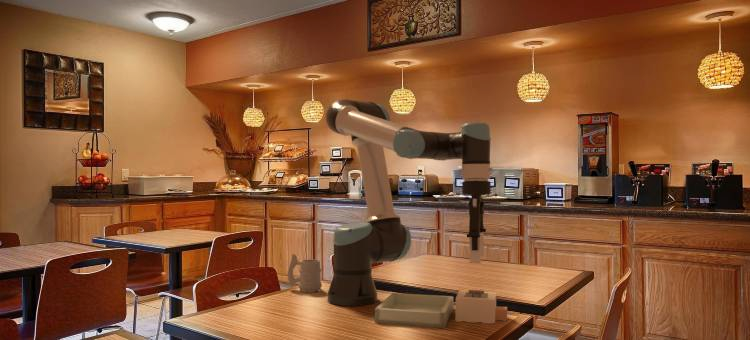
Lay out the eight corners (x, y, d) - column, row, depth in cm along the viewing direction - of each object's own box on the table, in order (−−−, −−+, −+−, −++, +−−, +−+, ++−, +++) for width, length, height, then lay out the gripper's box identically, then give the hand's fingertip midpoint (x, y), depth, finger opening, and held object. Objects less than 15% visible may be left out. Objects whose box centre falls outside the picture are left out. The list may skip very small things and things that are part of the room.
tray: (374, 322, 135) (374, 308, 135) (392, 304, 155) (392, 292, 155) (444, 327, 131) (444, 313, 131) (453, 308, 150) (453, 296, 150)
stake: (468, 318, 140) (468, 291, 140) (469, 315, 142) (469, 289, 142) (483, 319, 139) (483, 292, 139) (484, 316, 141) (484, 290, 141)
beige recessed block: (455, 321, 137) (455, 298, 137) (459, 311, 147) (459, 290, 147) (506, 324, 134) (506, 301, 134) (507, 315, 143) (507, 292, 143)
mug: (318, 293, 170) (318, 256, 170) (283, 291, 172) (283, 255, 172) (324, 288, 178) (324, 253, 178) (291, 287, 180) (291, 252, 180)
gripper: (488, 179, 128) (489, 266, 127) (492, 180, 152) (493, 253, 152) (457, 180, 130) (458, 265, 129) (466, 180, 154) (467, 252, 154)
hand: (477, 259), depth 141 cm, fingers open, 13 cm apart
